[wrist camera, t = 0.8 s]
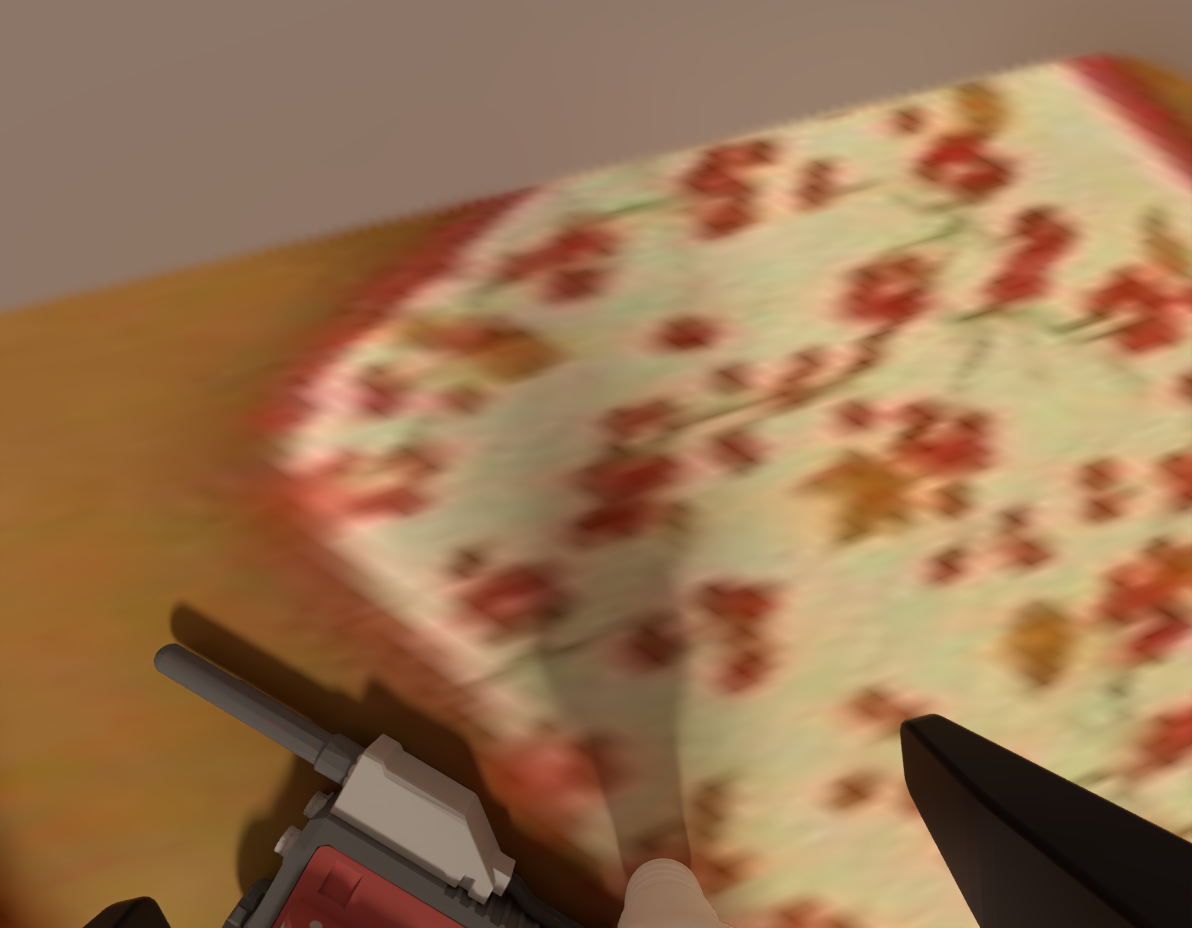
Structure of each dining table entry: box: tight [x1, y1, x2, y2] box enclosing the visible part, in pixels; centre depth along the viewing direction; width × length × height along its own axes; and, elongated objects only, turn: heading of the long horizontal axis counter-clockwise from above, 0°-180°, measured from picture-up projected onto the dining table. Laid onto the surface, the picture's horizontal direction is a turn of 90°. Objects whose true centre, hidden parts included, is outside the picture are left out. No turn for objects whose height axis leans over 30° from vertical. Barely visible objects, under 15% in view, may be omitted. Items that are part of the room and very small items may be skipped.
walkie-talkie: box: [154, 643, 585, 928], centre depth 21 cm, size 9×4×20 cm
